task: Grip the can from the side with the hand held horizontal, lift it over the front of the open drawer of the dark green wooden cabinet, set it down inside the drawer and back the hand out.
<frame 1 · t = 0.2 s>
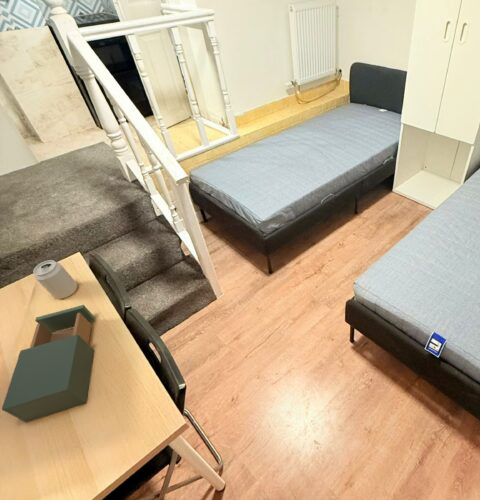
cabinet: (62, 383, 88), on the table
drawer: (62, 336, 94), point 4 cm above the table, slide at 10.0 cm
can: (66, 291, 111), on the table
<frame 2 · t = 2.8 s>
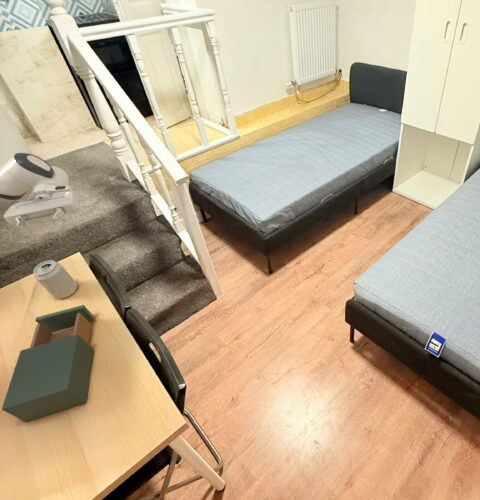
hand: (37, 223, 105), 20 cm above the table, tool horizontal, fingers open, 8 cm apart
nothing on the table moved.
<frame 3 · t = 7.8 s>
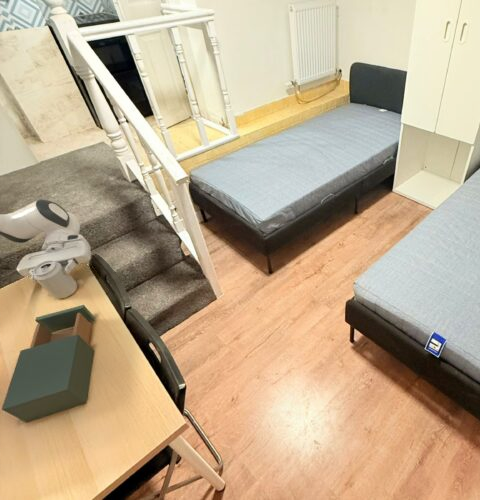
hand: (50, 276, 105), 8 cm above the table, tool horizontal, fingers closed on can, 7 cm apart
can: (66, 291, 111), on the table, touching gripper
everything else where it was.
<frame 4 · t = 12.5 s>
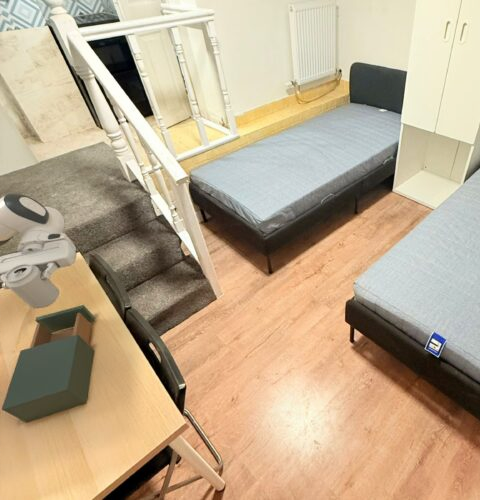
hand: (26, 282, 88), 20 cm above the table, tool horizontal, fingers closed on can, 7 cm apart
can: (47, 300, 95), point 11 cm above the table, touching gripper
everything else where it was.
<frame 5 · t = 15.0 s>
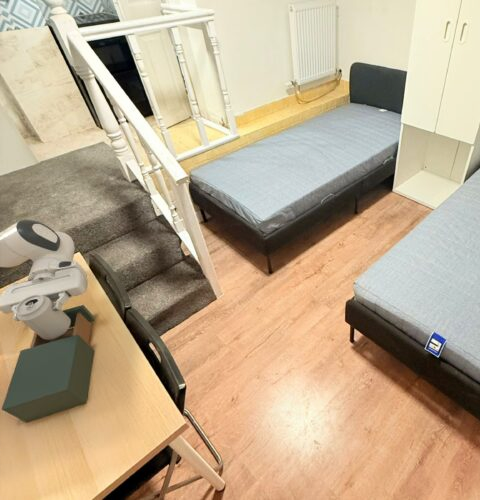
hand: (37, 314, 86), 15 cm above the table, tool horizontal, fingers closed on can, 7 cm apart
can: (58, 329, 93), point 7 cm above the table, touching gripper
everything else where it was.
when the fingers open (10 cm above the table, at t = 17.2 s): can stays where it is, resting on drawer.
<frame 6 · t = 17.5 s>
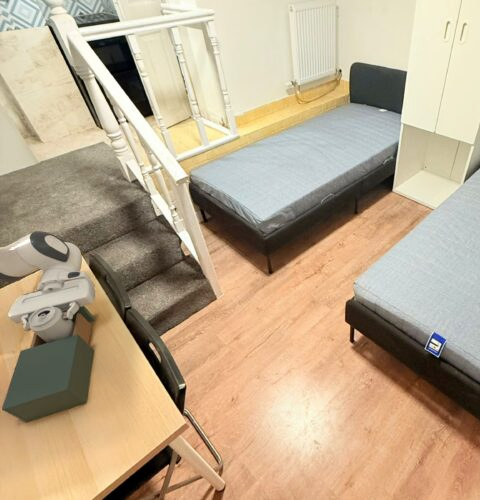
hand: (47, 324, 89), 11 cm above the table, tool horizontal, fingers open, 8 cm apart
drawer: (62, 336, 94), point 4 cm above the table, slide at 9.9 cm, touching can
can: (68, 339, 96), point 2 cm above the table, touching drawer
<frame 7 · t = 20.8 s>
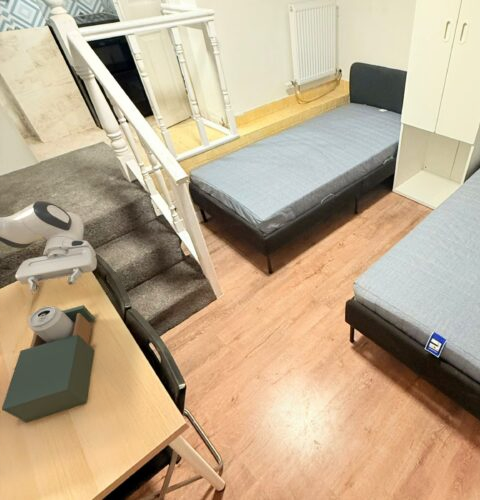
hand: (52, 286, 97), 12 cm above the table, tool horizontal, fingers open, 8 cm apart
nothing on the table moved.
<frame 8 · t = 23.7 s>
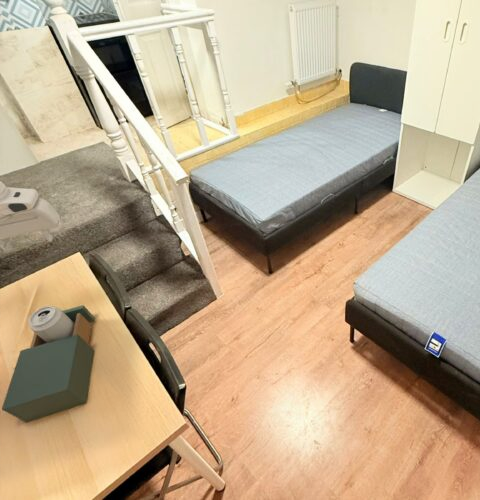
hand: (29, 244, 90), 25 cm above the table, tool pointing down, fingers open, 8 cm apart
nothing on the table moved.
at the end: can inside the target area in the drawer (0.5 cm from its centre), point 1.8 cm above the cabinet's base; can tilted 0°; the gripper is holding nothing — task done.
